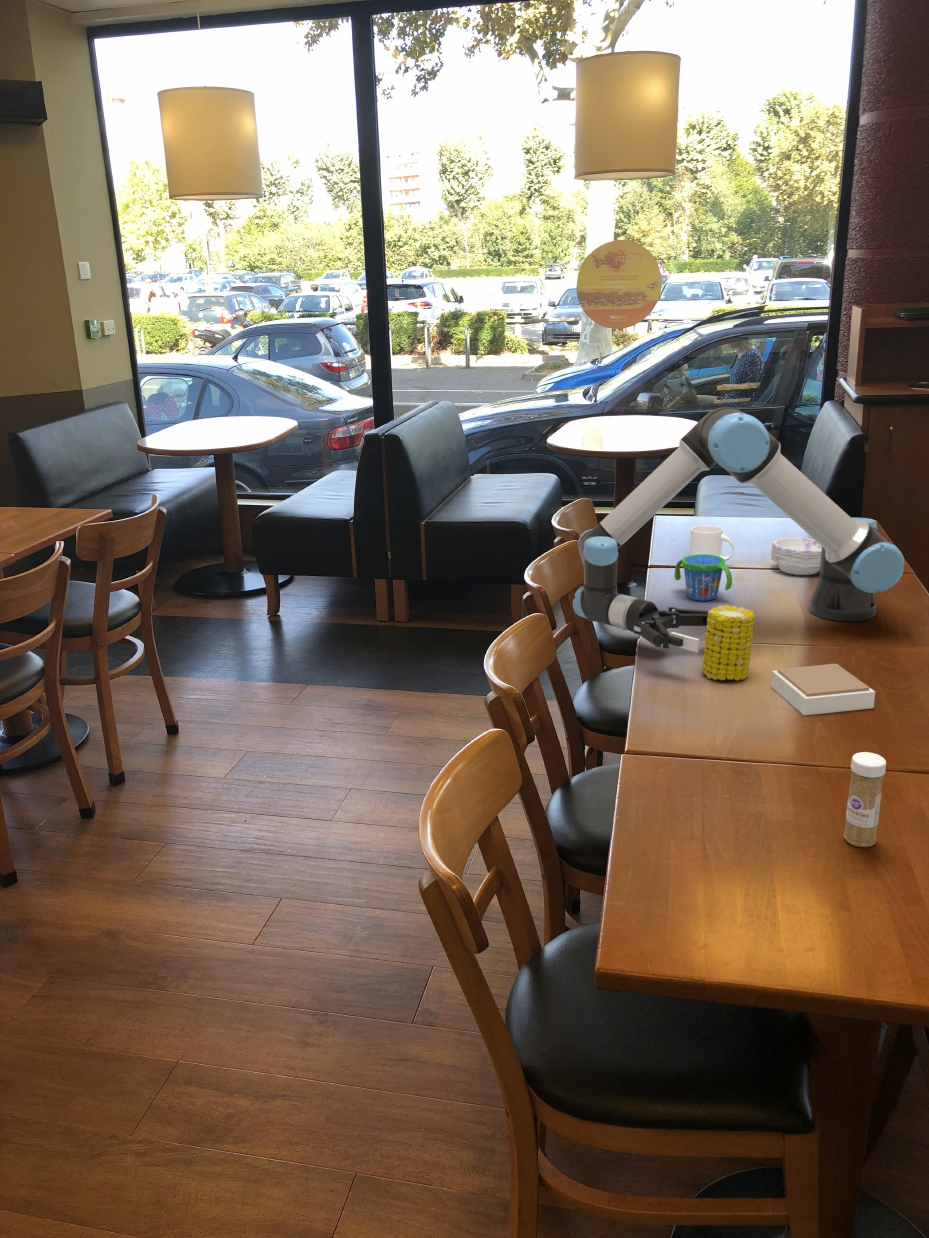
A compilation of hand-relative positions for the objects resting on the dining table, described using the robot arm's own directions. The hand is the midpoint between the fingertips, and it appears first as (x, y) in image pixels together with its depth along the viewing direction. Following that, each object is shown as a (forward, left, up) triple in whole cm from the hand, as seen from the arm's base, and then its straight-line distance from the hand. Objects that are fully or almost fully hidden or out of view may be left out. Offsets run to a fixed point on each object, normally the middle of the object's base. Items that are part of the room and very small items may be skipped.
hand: (717, 637), depth 201 cm
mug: (-29, -73, -8) cm, 79 cm away
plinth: (-15, +17, -8) cm, 24 cm away
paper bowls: (-50, -62, -8) cm, 80 cm away
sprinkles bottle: (+4, +65, -8) cm, 65 cm away
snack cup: (-16, -47, -8) cm, 51 cm away
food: (-2, +2, -8) cm, 8 cm away
